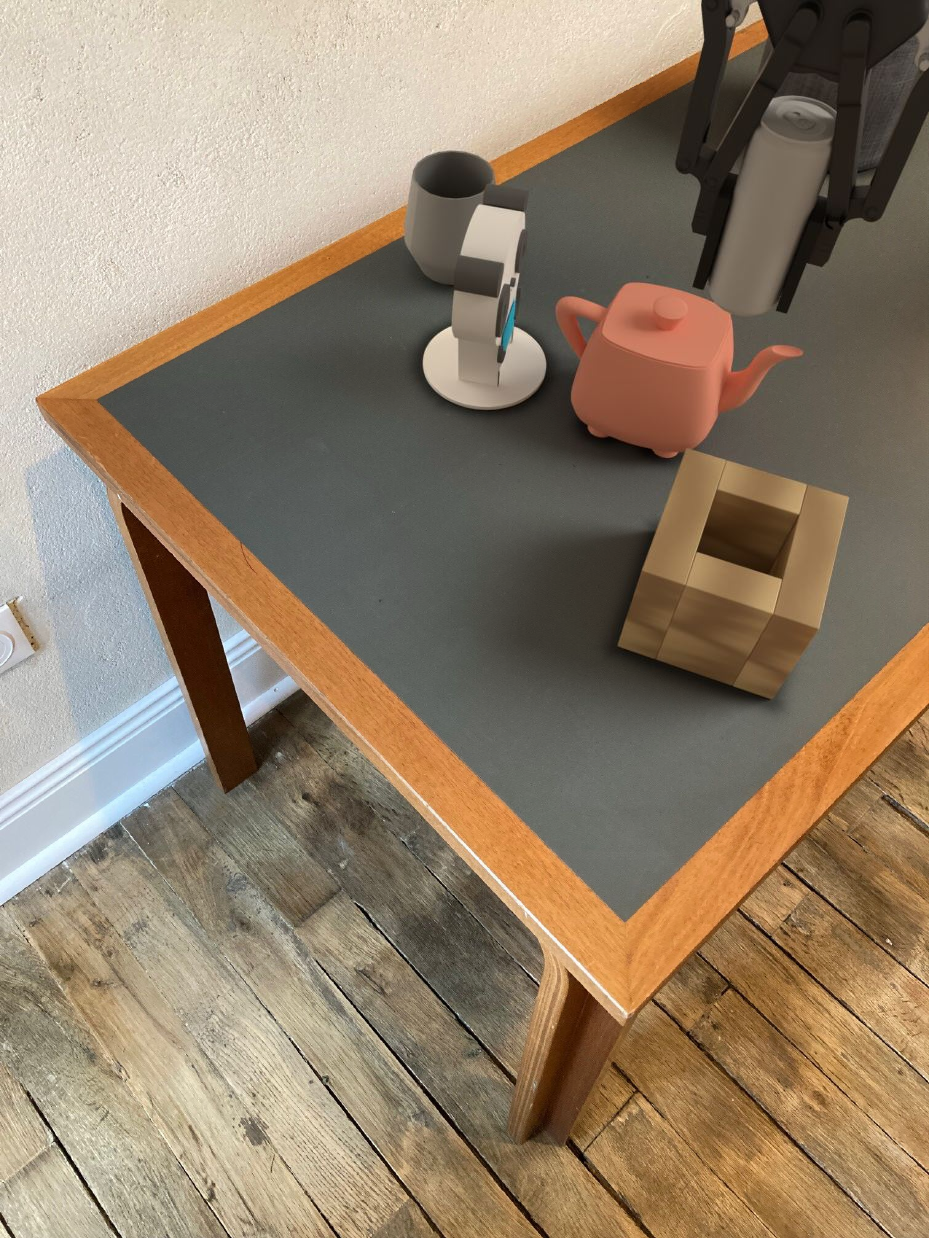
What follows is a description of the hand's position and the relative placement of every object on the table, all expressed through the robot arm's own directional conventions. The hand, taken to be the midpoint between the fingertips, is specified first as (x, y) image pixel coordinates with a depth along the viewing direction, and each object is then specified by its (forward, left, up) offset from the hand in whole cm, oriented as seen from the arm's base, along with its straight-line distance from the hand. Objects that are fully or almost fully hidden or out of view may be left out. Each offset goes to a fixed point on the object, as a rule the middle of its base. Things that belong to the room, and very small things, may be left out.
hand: (744, 287), depth 61 cm
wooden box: (-6, +10, -21) cm, 24 cm away
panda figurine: (+20, -8, -21) cm, 30 cm away
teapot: (+4, -8, -21) cm, 23 cm away
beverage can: (0, 0, -1) cm, 1 cm away
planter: (-2, -60, -21) cm, 63 cm away
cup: (+28, -20, -21) cm, 40 cm away
